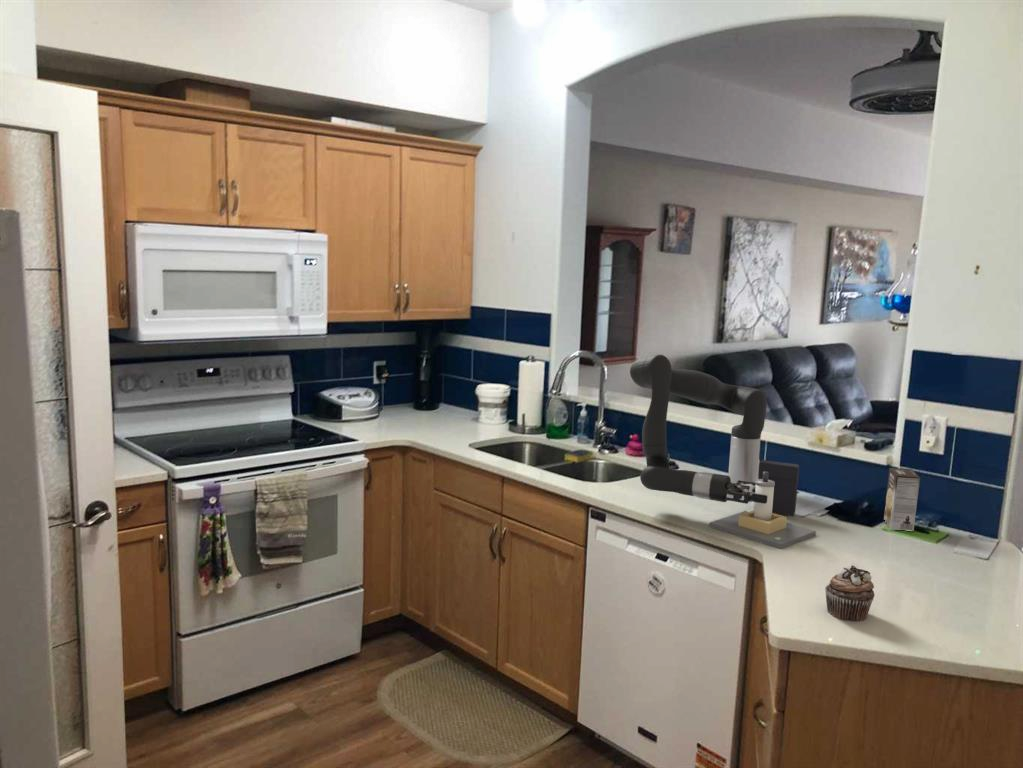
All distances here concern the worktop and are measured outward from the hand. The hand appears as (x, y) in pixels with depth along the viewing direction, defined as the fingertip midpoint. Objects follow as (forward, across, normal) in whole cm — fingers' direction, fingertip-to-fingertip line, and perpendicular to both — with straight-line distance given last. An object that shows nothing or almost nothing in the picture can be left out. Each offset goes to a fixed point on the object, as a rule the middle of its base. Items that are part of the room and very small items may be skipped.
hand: (770, 495), depth 225 cm
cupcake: (+25, -46, +10) cm, 54 cm away
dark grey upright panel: (-2, +20, +10) cm, 23 cm away
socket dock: (-2, 0, +10) cm, 10 cm away
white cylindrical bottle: (-2, 0, +9) cm, 9 cm away
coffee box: (+32, +26, +10) cm, 42 cm away
